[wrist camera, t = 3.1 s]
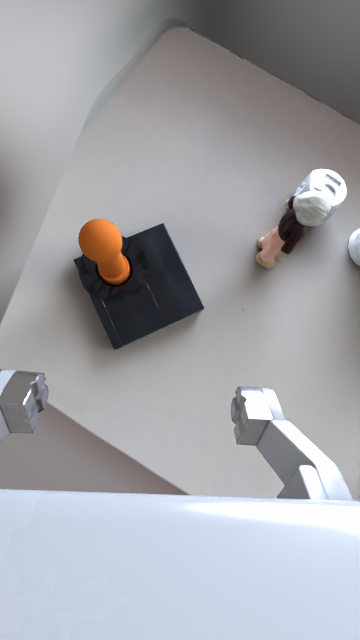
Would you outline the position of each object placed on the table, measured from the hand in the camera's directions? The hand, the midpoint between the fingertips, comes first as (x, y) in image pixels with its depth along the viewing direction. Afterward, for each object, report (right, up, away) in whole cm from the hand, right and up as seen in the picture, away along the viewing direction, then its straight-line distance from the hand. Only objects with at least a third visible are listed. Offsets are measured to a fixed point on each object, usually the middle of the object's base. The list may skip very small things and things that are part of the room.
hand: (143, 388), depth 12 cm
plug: (-7, +9, +23) cm, 26 cm away
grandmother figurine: (+14, +13, +26) cm, 32 cm away
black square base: (-4, +7, +24) cm, 25 cm away
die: (+19, +19, +27) cm, 38 cm away
